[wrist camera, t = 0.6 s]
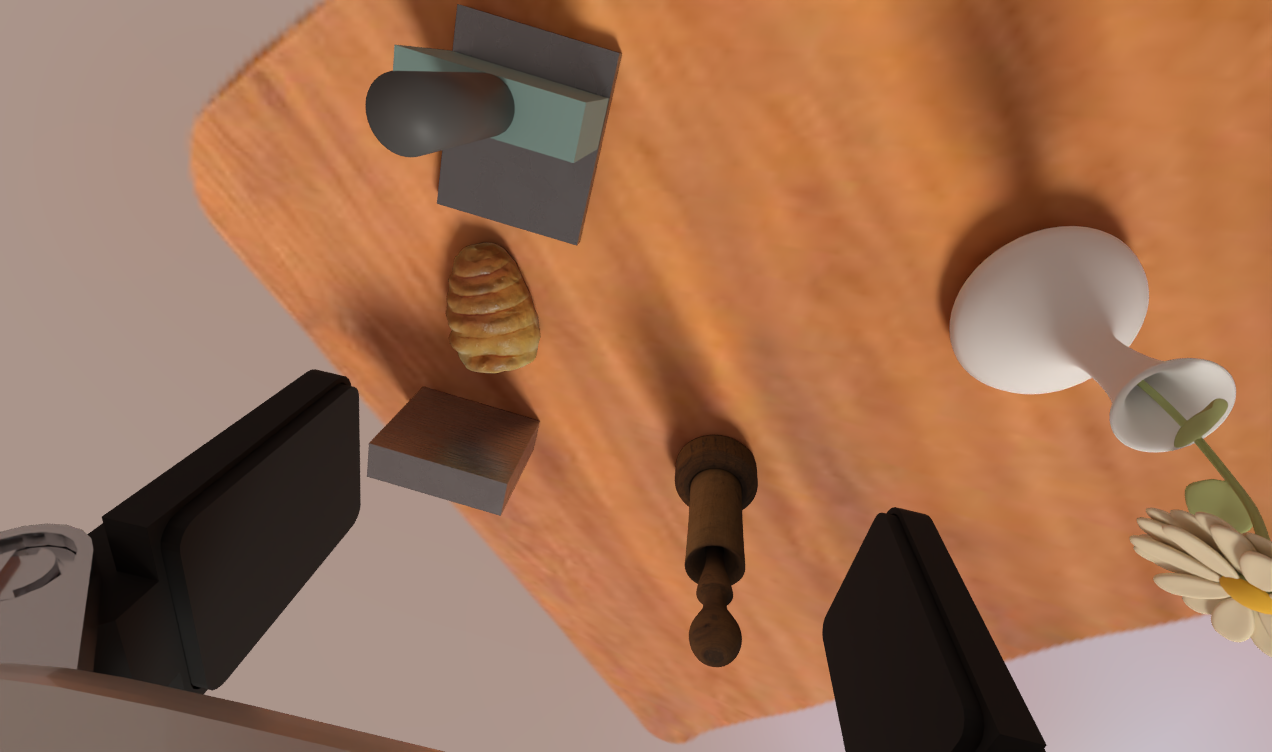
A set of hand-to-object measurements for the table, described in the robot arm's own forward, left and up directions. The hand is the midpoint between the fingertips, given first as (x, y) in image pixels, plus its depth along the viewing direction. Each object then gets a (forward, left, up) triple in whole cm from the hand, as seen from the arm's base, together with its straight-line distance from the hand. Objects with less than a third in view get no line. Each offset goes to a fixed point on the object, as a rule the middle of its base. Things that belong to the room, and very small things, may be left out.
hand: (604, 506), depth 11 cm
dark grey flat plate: (-1, -11, -32) cm, 34 cm away
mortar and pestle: (+20, +9, -32) cm, 39 cm away
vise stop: (+22, -11, -32) cm, 41 cm away
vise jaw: (-3, -11, -31) cm, 33 cm away
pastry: (+12, -11, -33) cm, 37 cm away
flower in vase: (+1, +25, -33) cm, 41 cm away
